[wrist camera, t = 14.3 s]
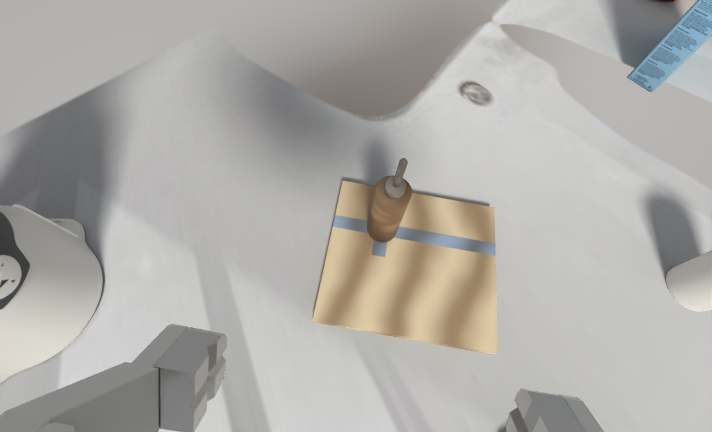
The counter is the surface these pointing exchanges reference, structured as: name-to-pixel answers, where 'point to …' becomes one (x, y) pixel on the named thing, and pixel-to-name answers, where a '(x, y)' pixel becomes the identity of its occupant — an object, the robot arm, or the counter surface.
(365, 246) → the plywood panel
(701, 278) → the white cup
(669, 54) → the gum box
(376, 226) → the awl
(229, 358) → the counter surface
